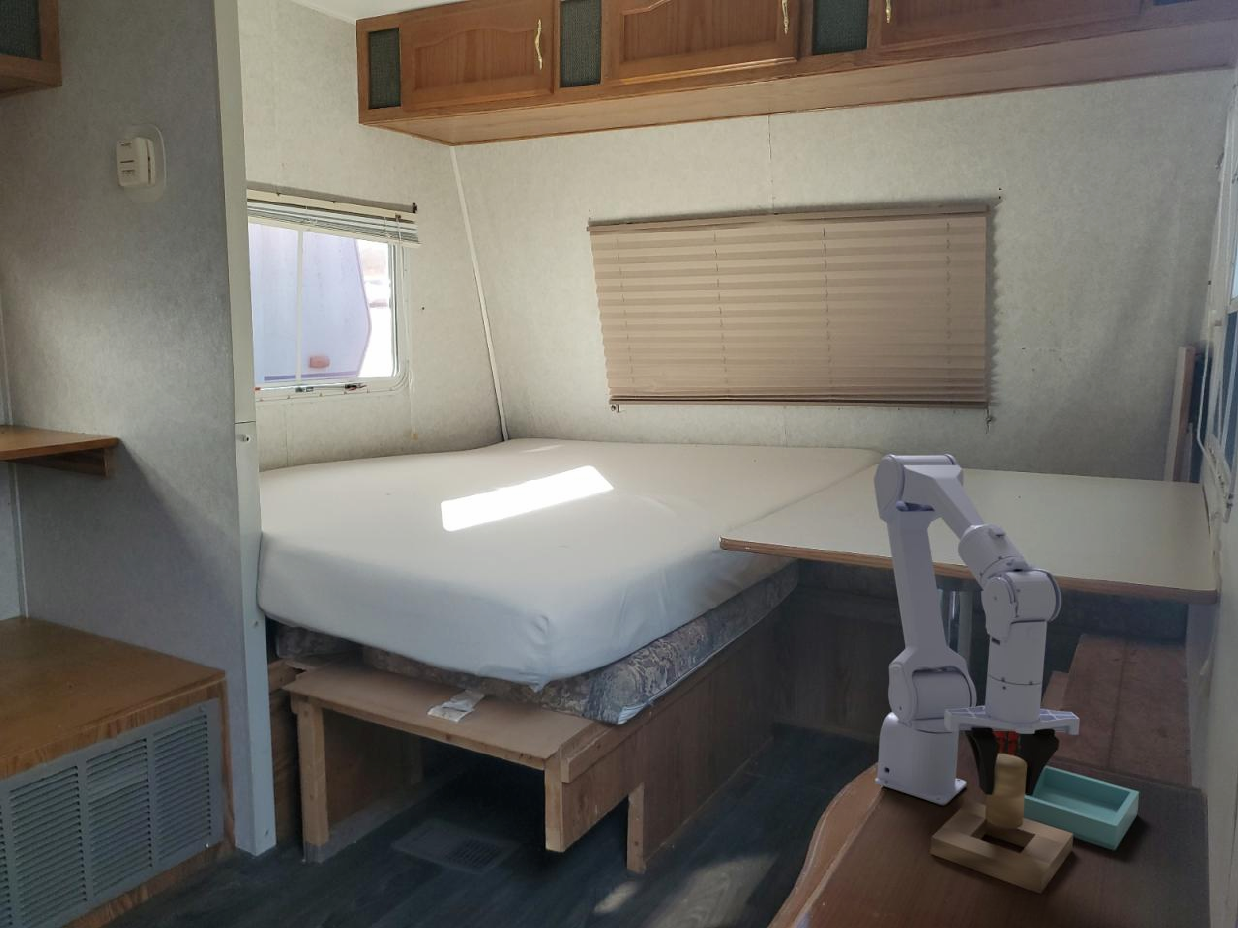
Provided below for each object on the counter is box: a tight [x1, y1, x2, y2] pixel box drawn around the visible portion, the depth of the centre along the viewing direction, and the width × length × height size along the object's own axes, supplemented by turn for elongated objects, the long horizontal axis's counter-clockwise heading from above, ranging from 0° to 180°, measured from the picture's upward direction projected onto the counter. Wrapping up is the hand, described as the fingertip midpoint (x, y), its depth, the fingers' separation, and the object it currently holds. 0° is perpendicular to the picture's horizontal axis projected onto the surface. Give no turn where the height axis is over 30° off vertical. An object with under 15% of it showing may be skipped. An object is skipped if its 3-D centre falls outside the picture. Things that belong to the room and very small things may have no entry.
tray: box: [1023, 764, 1140, 852], centre depth 117 cm, size 12×12×3 cm
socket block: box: [929, 800, 1074, 895], centre depth 108 cm, size 12×12×2 cm
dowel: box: [985, 754, 1027, 828], centre depth 107 cm, size 4×4×7 cm
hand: (1005, 791), depth 107 cm, fingers closed on dowel, 4 cm apart
